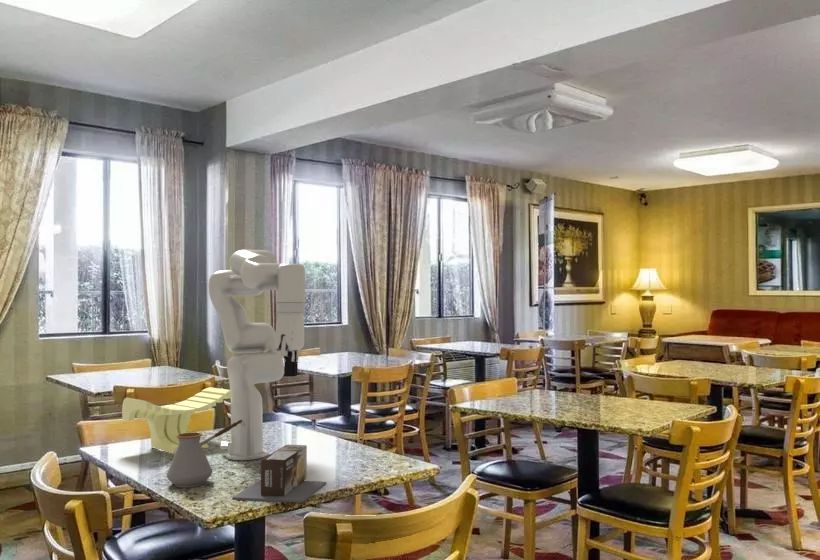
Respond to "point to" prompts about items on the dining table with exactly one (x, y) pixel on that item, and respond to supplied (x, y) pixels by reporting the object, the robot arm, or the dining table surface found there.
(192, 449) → the coffee pot
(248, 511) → the dining table surface
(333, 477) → the dining table surface
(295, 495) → the mat
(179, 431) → the slatted curved stool
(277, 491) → the coffee box
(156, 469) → the dining table surface
